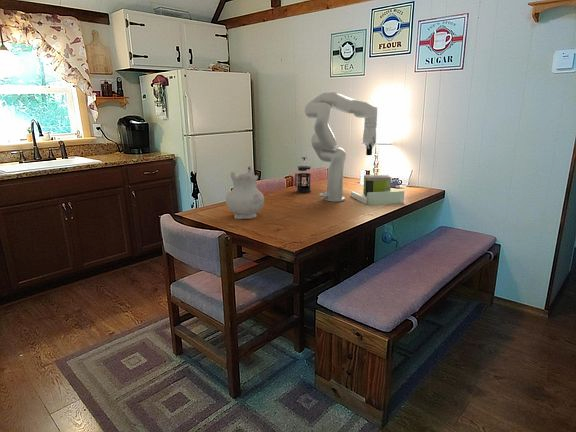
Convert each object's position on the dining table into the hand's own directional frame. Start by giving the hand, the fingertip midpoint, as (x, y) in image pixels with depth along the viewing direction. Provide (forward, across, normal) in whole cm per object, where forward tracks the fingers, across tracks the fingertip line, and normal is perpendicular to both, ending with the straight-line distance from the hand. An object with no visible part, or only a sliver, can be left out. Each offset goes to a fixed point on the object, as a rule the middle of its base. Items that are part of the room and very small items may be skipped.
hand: (369, 154), depth 245 cm
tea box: (+25, +19, -3) cm, 32 cm away
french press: (+25, -13, -40) cm, 49 cm away
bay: (+25, +18, -2) cm, 31 cm away
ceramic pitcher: (+24, +36, -85) cm, 95 cm away
